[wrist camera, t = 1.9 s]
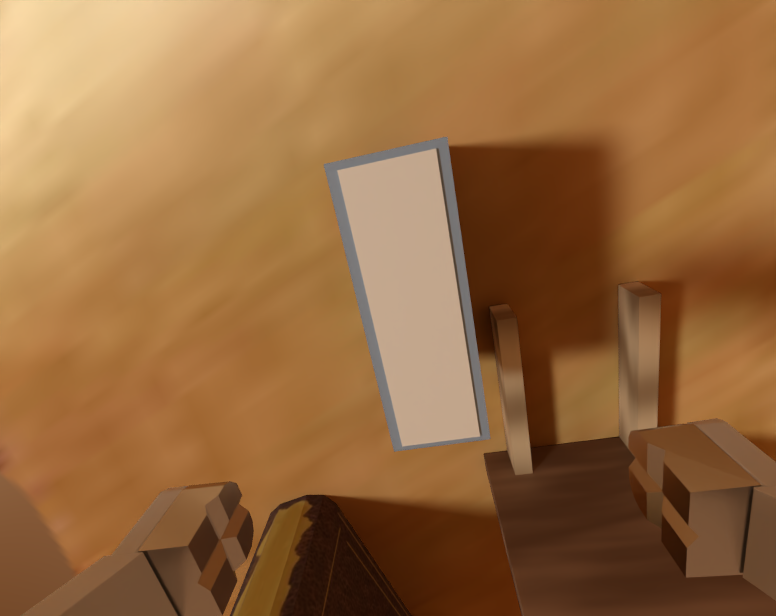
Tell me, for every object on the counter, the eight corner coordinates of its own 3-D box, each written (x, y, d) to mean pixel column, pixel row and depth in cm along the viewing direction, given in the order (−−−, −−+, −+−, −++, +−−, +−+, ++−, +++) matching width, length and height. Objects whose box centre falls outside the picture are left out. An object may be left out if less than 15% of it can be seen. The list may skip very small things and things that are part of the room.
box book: (358, 163, 24) (323, 164, 14) (432, 146, 23) (447, 136, 14) (399, 354, 28) (393, 452, 18) (463, 344, 27) (490, 440, 18)
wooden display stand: (462, 311, 26) (512, 458, 13) (667, 276, 25) (955, 404, 12) (486, 469, 31) (541, 695, 18) (661, 447, 29) (864, 679, 16)
